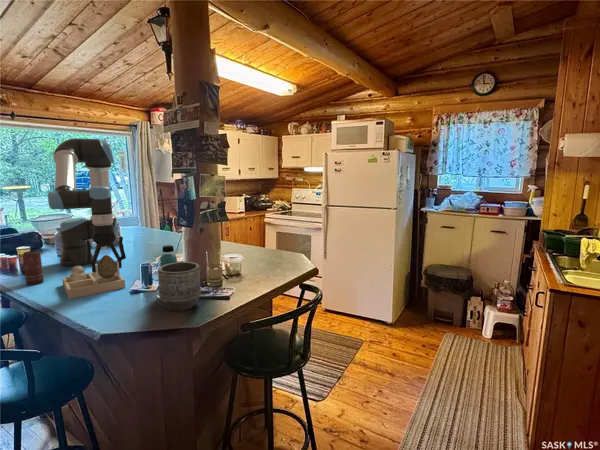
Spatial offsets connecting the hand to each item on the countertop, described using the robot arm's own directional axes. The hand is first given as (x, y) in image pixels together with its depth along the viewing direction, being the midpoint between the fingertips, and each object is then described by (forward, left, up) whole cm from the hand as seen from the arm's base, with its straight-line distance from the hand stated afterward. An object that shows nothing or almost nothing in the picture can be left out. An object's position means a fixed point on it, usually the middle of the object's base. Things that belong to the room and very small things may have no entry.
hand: (107, 277), depth 147 cm
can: (-26, -24, -4) cm, 35 cm away
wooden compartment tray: (-5, -5, -4) cm, 8 cm away
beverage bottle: (+25, +17, -4) cm, 31 cm away
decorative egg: (0, 0, 0) cm, 0 cm away
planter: (+39, +16, -4) cm, 43 cm away
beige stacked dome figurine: (-10, -9, -3) cm, 14 cm away
